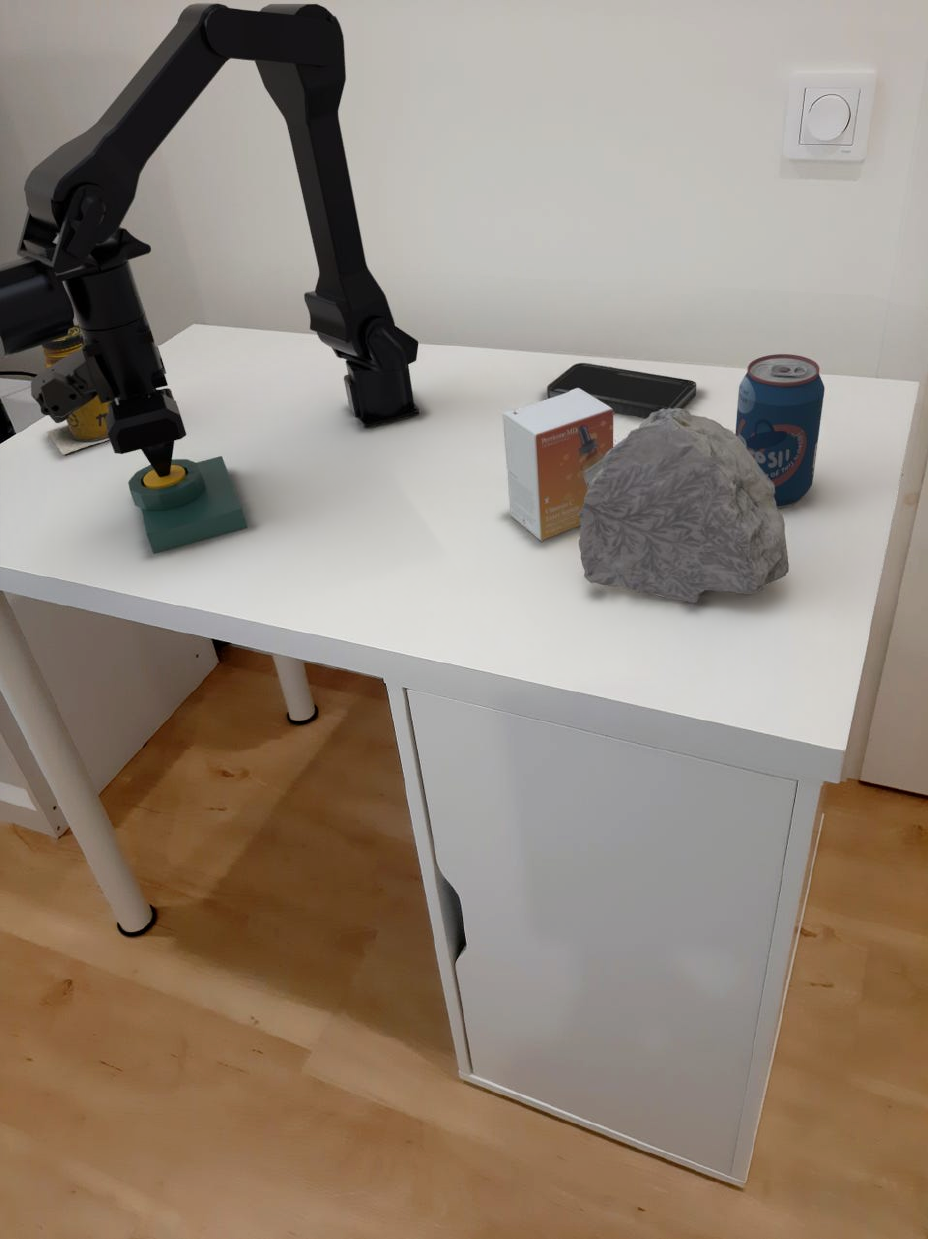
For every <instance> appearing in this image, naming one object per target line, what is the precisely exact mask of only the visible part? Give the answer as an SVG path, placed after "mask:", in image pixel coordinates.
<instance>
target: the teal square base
mask: <svg viewBox="0 0 928 1239" xmlns="http://www.w3.org/2000/svg"><path fill="white" fill-rule="evenodd" d="M171 465H178V466H181V467H182V468H183V469H184V470H185V473H186V477H185V478H184V480H182V481H180V482H179V483H177V484H175V485H172V486H169V487H165V488H161V489H149V488H146V487H145V484H144V477H145V475H146V474H147V473H148V472H150V471H152V470H153V467H152V466H151V464H149V465H147V466H145V467H143V468H141V469H139V470H138V471H136V472H135V473H134V474H133V475H132V477H131V478H130V479H129V480H128V482H127V484H128V489H129V492H130V495H131V497H132V498H131V499H132V500H133V503H134V505H135V506H136V507H137V508H139V509H140V510H141V515H142V520H143V525H144V531H145V534H146V538H147V540H148V543H149V546H150V549H151V551H152V553H153V554H154V555H155V554H158V553H161V552H165V551H169V550H173V549H176V548H180V547H183V546H186V545H189V544H190V545H191V544H195V543H198V542H201V541H204V540H209V539H212V538H216V537H219V536H222V535H227V534H230V533H233V532H237V531H241V530H244V529H247V528H248V525H247V522H246V518H245V514H244V511H243V508H242V505H241V502H240V500H239V497H238V495H237V492H236V490H235V487H234V484H233V482H232V478H231V476H230V474H229V471H228V469H227V466H226V463H225V460H224V457H223V456H222V455H220V456H217V457H212V458H208V459H205V460H201V461H197V462H195V461H192V460H190V459H186V458H180V459H179V458H174V459H173V458H172V463H171Z"/></svg>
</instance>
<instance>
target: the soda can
mask: <svg viewBox="0 0 928 1239" xmlns="http://www.w3.org/2000/svg"><path fill="white" fill-rule="evenodd" d="M746 371H747V372H746V373H745V375H744V377H743V378H742V380H741V381H740V382H739V385H738V393H737V394H738V395H737V408H736V419H735V420H736V421H735V432H734V434H735V435H736V436H738V437H739V438H740V439H741V440H742V442H743V443H744V445H745V446H746V448H747V450H748V451H749V452H750V454H751V455H752V456H753V457H754V458H755V460H756V462H757V463H758V465H759V466H760V468H761V469H762V470H763V472H764V473H765V474H766V475H767V476H768V478H769V479H770V480H771V481H772V482H773V483H774V486H775V494H774V499H775V501H776V507H777V509H785V508H788V507H792V506H794V505H795V504H797V503H799V502H800V501H801V500H802V499H803V497H804V496H806V494H807V493H808V492H809V491H810V489H811V488H812V486H813V482H814V475H815V467H816V461H817V460H816V459H817V451H818V443H819V434H820V427H821V420H822V411H823V405H824V396H825V384H824V381H823V379H822V377H821V375H820V366H819V364H818V363H817V362H816V361H814V360H813V359H811V358H808V357H806V356H803V355H798V354H791V353H789V354H788V353H777V354H770V355H763V356H761V357H758V358H756V359H753V360H752V361H751V362H749V364H748V366H747V369H746Z"/></svg>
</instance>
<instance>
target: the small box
mask: <svg viewBox="0 0 928 1239" xmlns="http://www.w3.org/2000/svg"><path fill="white" fill-rule="evenodd" d="M502 425H503V426H502V428H503V437H504V438H503V439H504V440H503V441H504V450H505V463H506V475H507V476H506V477H507V489H508V504H509V514H510V516H511V517H512V518H513V519H514V520H516V521H517V522H518V523H519V524H520V525H522V526H523V527H524V528H525V529H526V530H527V531H529V532H530V533H531V534H532V535H533V536H535V537H536V538H537V539H538V540H539V541H545V540H546V539H549V538H551V537H553V536H557V535H558V534H561V533H564V532H567V531H569V530H572V529H574V528H577V527H581V523H580V518H579V514H578V513H579V512H580V510H581V508H582V507H583V505H584V498H585V496H586V494H587V492H588V487H589V484H590V483H591V481H592V480H593V479H594V477H595V475H596V474H597V473H598V472H599V471H600V470H601V469H602V468H603V462H604V456H605V454H606V453H607V452H608V451H609V450H610V449H612V448H613V447H614V412H613V409H612V408H611V407H609V406H608V405H606V404H604V403H603V402H601V401H599V400H598V399H596V398H594V397H593V396H591V395H590V394H588V393H586V392H585V391H583V390H581V389H580V388H576V389H573V390H571V391H569V392H567V393H564V394H561V395H558V396H555V397H552V398H547V399H544V400H541V401H537V402H535V403H532V404H529V405H525V406H522V407H519V408H516V409H511V410H507V411H504V412H502Z"/></svg>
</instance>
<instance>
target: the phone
mask: <svg viewBox="0 0 928 1239" xmlns="http://www.w3.org/2000/svg"><path fill="white" fill-rule="evenodd" d="M576 388H580V389H581V390H583V391H585V392H586V393H588V394H590V395H591V396H593V397H594V398H596V399H598V400H599V401H601V402H603V403H604V404H606V405H608V406H609V407H611V408H612V409H613V413H618V414H624V415H629V416H635V417H640V418H645V419H646V418H648V417H649V416H650V414H651V413H653V412H657V411H659V410H661V409H666V410H667V409H675V408H680V409H684V408H685V407H686V406H687V404H688V403H689V402H691V401H692V400H693V399H694V398H695V397H696V395H697V382H696V381H694V380H691V379H686V378H680V377H675V376H673V377H672V376H668V375H661V374H654V373H648V372H642V371H636V370H630V369H625V368H618V367H612V366H605V365H601V364H595V363H594V364H593V363H587V362H579V363H575V364H573V365H571V366H570V367H569V368H568V369H566V370H565V371H564V372H563V373H561V375H559V376H558V377H557V378H555V379H554V380H553V381H552V382H550V383H549V384H548V385H547V387H546V390H547V399H549V398H552V397H555V396H558V395H561V394H564V393H567V392H569V391H571V390H573V389H576Z"/></svg>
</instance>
